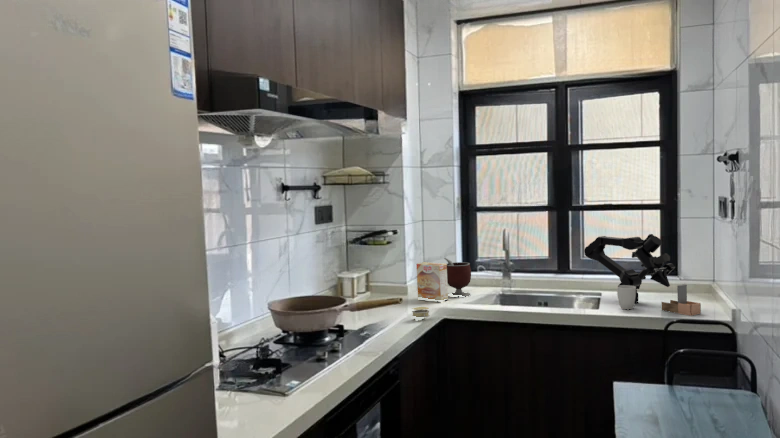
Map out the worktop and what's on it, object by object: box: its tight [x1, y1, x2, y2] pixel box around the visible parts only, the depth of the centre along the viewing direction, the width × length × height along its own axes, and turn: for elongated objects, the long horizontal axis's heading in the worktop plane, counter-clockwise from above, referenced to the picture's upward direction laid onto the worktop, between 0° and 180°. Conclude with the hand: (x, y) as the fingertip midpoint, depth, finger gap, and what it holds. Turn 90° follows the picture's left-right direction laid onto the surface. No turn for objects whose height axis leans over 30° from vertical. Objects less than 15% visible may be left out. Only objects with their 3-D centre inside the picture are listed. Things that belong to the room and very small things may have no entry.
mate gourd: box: [443, 257, 472, 297], centre depth 312 cm, size 16×14×20 cm
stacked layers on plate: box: [411, 306, 430, 318], centre depth 261 cm, size 10×9×6 cm
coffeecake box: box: [416, 261, 449, 300], centre depth 302 cm, size 15×7×20 cm, turn 49°
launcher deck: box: [661, 299, 679, 314], centre depth 255 cm, size 8×6×4 cm
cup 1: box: [616, 285, 637, 311], centre depth 263 cm, size 8×8×10 cm
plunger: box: [676, 283, 688, 304], centre depth 251 cm, size 1×5×9 cm, turn 119°
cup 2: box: [677, 300, 702, 317], centre depth 249 cm, size 6×6×4 cm
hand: (668, 286), depth 256 cm, fingers closed
